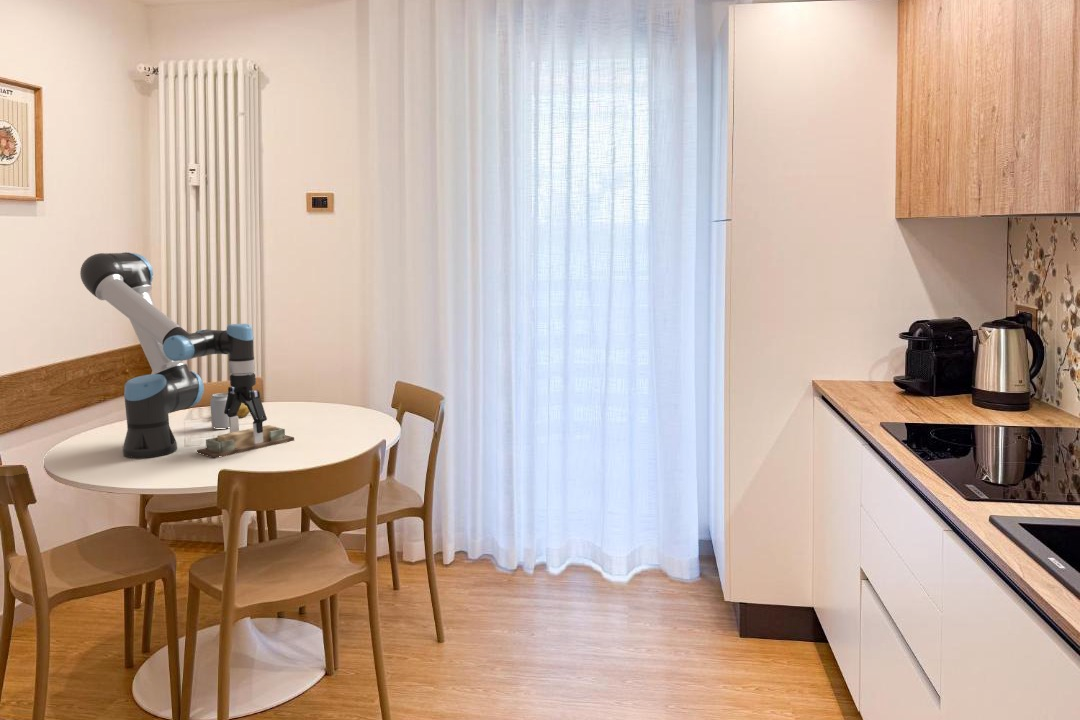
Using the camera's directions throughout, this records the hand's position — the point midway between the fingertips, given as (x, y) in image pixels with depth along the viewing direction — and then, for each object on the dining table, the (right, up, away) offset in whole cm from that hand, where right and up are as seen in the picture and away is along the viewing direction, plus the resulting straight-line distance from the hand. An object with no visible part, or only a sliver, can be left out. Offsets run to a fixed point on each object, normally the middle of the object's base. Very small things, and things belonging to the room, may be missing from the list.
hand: (246, 439), depth 257 cm
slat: (0, -1, 0) cm, 1 cm away
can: (-18, +1, +27) cm, 33 cm away
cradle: (0, -2, 0) cm, 2 cm away
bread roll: (-21, +4, +47) cm, 51 cm away
